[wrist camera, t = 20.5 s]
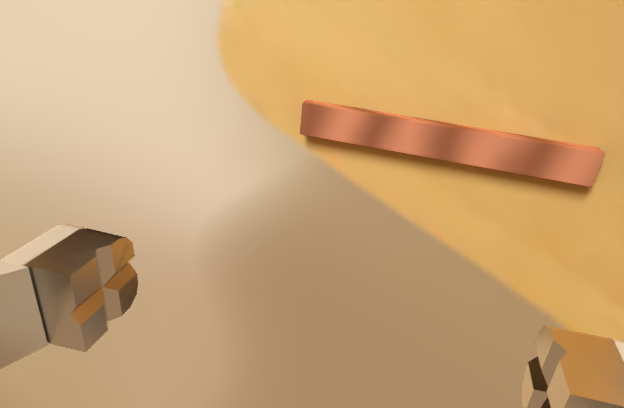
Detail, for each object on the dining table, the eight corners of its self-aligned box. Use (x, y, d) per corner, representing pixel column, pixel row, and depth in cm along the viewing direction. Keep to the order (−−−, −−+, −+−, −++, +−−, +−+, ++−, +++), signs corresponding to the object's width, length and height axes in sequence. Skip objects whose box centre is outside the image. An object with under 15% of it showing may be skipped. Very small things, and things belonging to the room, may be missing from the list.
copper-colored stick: (305, 128, 45) (299, 134, 44) (308, 98, 44) (302, 103, 42) (585, 178, 41) (591, 186, 39) (598, 146, 39) (605, 154, 37)
